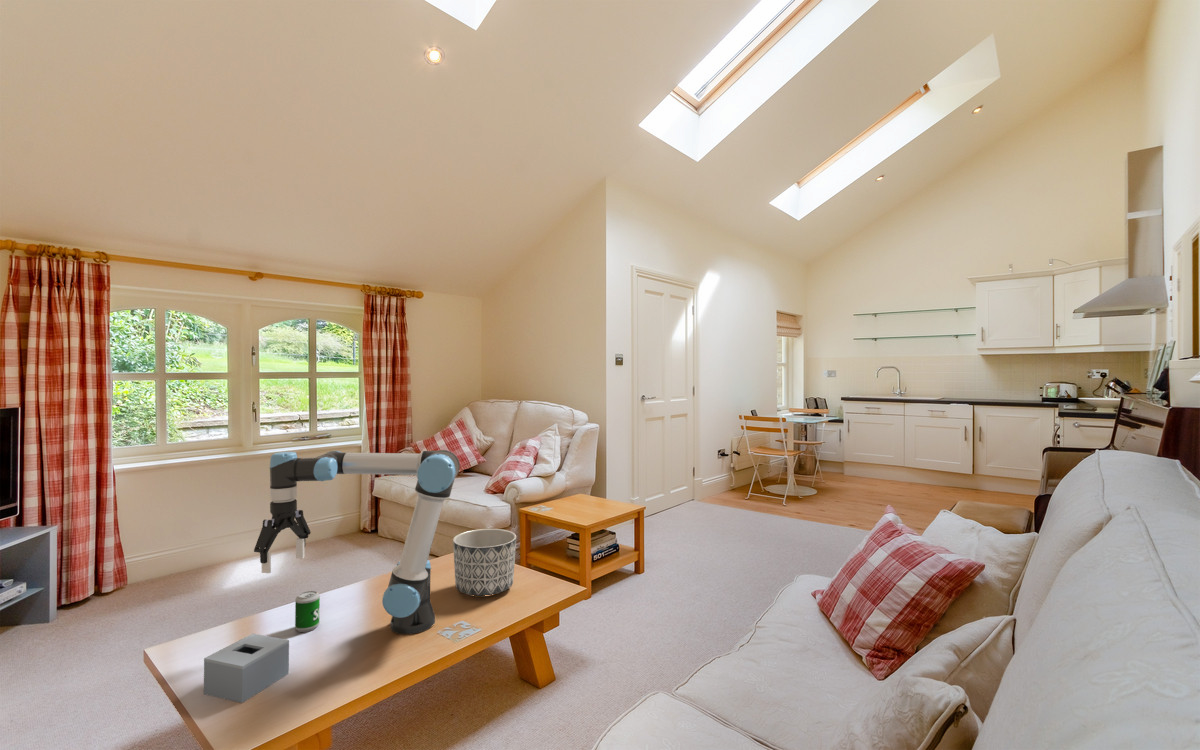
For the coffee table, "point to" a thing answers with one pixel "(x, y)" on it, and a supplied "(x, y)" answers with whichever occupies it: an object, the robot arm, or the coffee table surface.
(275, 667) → the box
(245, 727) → the coffee table surface
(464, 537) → the planter
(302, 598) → the soda can
